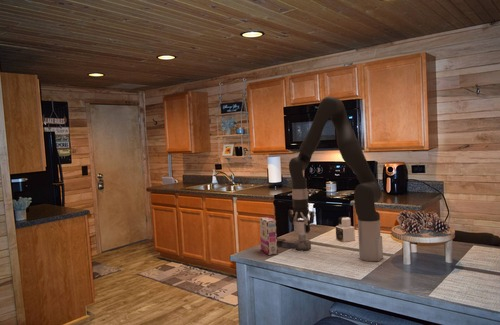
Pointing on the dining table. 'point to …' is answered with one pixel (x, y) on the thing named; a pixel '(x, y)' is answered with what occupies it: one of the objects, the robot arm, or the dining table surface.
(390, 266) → the dining table surface
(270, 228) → the candy bar box
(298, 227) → the socket
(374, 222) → the robot arm
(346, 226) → the medicine bottle
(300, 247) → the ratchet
